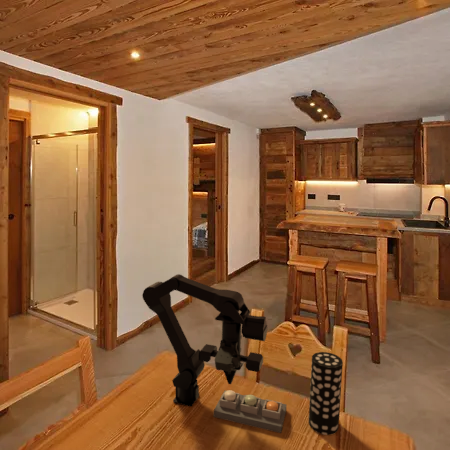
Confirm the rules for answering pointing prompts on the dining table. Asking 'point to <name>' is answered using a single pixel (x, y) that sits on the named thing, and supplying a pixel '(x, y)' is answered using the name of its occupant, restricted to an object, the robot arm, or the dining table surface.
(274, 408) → the orange button
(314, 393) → the spotted tube
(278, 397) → the dining table surface
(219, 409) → the rack
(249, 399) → the sage button
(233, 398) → the cream button
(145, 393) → the dining table surface
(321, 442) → the dining table surface
